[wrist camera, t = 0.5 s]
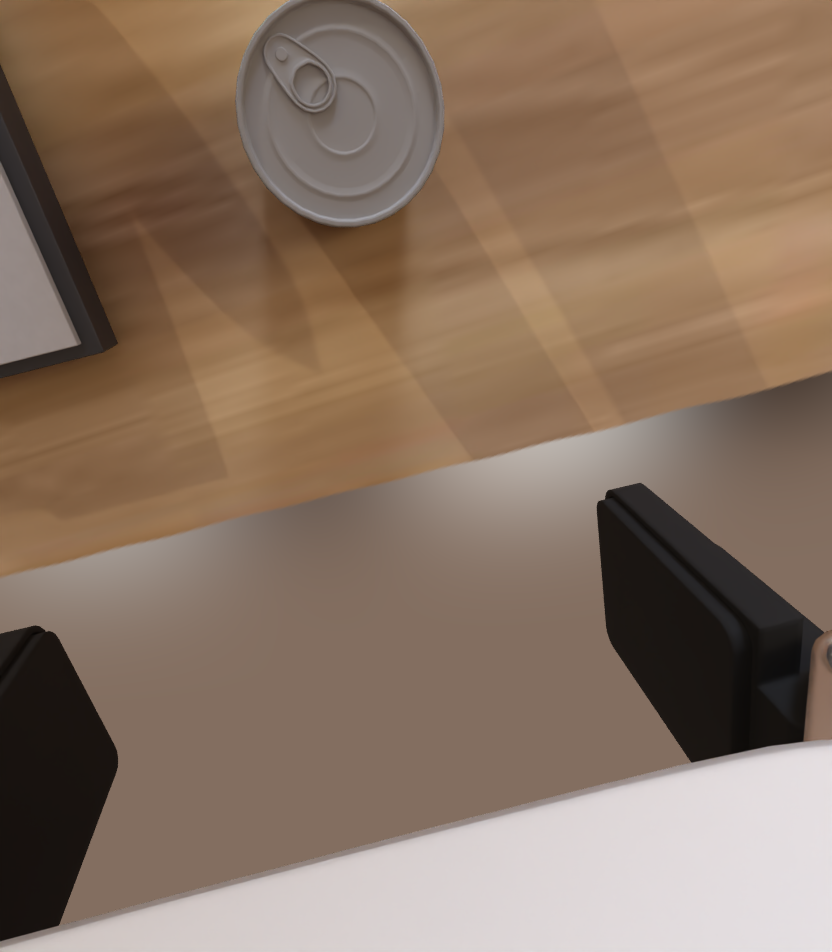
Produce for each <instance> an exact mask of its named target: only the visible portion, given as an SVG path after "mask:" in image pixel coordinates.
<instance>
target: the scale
mask: <svg viewBox="0 0 832 952" xmlns="http://www.w3.org/2000/svg"><path fill="white" fill-rule="evenodd" d="M117 344H118V343H117V340H116V338H115V336H114V333H113V331H112V329H111V326H110V324H109V321H108V319H107V317H106V314H105V312H104V310H103V307H102V305H101V303H100V300H99V298H98V295H97V293H96V291H95V288H94V286H93V284H92V281H91V279H90V276H89V274H88V272H87V269H86V267H85V265H84V262H83V260H82V257H81V255H80V253H79V250H78V248H77V246H76V243H75V241H74V238H73V236H72V234H71V231H70V229H69V227H68V224H67V222H66V219H65V217H64V215H63V212H62V210H61V208H60V205H59V203H58V201H57V198H56V196H55V193H54V191H53V189H52V186H51V184H50V182H49V179H48V177H47V174H46V172H45V170H44V167H43V165H42V163H41V160H40V158H39V155H38V153H37V151H36V148H35V146H34V144H33V141H32V139H31V136H30V134H29V132H28V129H27V127H26V125H25V122H24V120H23V118H22V115H21V113H20V110H19V108H18V106H17V103H16V101H15V99H14V96H13V94H12V91H11V89H10V87H9V84H8V82H7V80H6V77H5V75H4V72H3V70H2V68H1V65H0V378H3V377H7V376H11V375H15V374H19V373H23V372H27V371H31V370H35V369H39V368H43V367H47V366H51V365H55V364H59V363H63V362H67V361H71V360H75V359H78V358H82V357H86V356H90V355H94V354H98V353H102V352H105V351H106V350H108V349H110V348H112V347H113V346H115V345H117Z"/></svg>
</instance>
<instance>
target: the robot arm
mask: <svg viewBox="0 0 832 952" xmlns="http://www.w3.org/2000/svg"><path fill="white" fill-rule="evenodd" d="M597 517H598V531H599V543H600V556H601V568H602V581H603V594H604V606H605V618H606V628H607V633H608V636H609V639H610V641H611V644H612V645H613V647H614V649H615V650H616V652H617V653H618V655H619V656H620V658H621V659H622V661H623V662H624V663H625V665H626V666H627V668H628V669H629V671H630V673H631V674H632V675H633V677H634V678H635V680H636V681H637V683H638V684H639V686H640V687H641V689H642V690H643V692H644V693H645V695H646V696H647V698H648V699H649V700H650V702H651V704H652V705H653V706H654V708H655V709H656V711H657V712H658V714H659V715H660V717H661V718H662V720H663V721H664V723H665V724H666V726H667V727H668V729H669V730H670V732H671V733H672V735H673V736H674V738H675V739H676V741H677V742H678V744H679V745H680V746H681V748H682V749H683V751H684V752H685V754H686V755H687V757H688V758H689V760H690V761H691V763H688V764H684V765H679V766H675V767H671V768H667V769H663V770H659V771H655V772H651V773H647V774H643V775H639V776H635V777H631V778H627V779H623V780H618V781H614V782H610V783H606V784H602V785H597V786H593V787H589V788H585V789H581V790H578V791H574V792H570V793H566V794H562V795H558V796H554V797H550V798H547V799H542V800H538V801H534V802H530V803H526V804H523V805H519V806H515V807H511V808H507V809H503V810H499V811H495V812H491V813H487V814H483V815H480V816H476V817H472V818H468V819H464V820H460V821H456V822H452V823H448V824H444V825H440V826H436V827H432V828H428V829H425V830H421V831H417V832H413V833H409V834H405V835H401V836H397V837H394V838H390V839H386V840H382V841H378V842H374V843H370V844H367V845H363V846H359V847H355V848H351V849H347V850H344V851H340V852H336V853H332V854H328V855H324V856H320V857H317V858H313V859H309V860H305V861H301V862H298V863H294V864H290V865H286V866H282V867H278V868H275V869H271V870H267V871H264V872H259V873H256V874H252V875H248V876H244V877H240V878H236V879H233V880H229V881H225V882H222V883H217V884H214V885H210V886H206V887H203V888H198V889H194V890H191V891H187V892H183V893H179V894H176V895H172V896H168V897H165V898H161V899H157V900H153V901H149V902H146V903H142V904H138V905H135V906H131V907H127V908H123V909H120V910H116V911H112V912H108V913H105V914H101V915H97V916H93V917H90V918H86V919H82V920H79V921H75V922H71V923H68V924H63V925H60V926H59V924H60V921H61V918H62V916H63V913H64V910H65V908H66V905H67V902H68V899H69V897H70V895H71V892H72V889H73V886H74V884H75V881H76V879H77V876H78V873H79V871H80V868H81V865H82V862H83V860H84V857H85V854H86V852H87V849H88V846H89V844H90V841H91V838H92V836H93V833H94V830H95V828H96V825H97V822H98V819H99V817H100V814H101V812H102V809H103V806H104V804H105V801H106V798H107V795H108V793H109V790H110V788H111V785H112V782H113V780H114V777H115V774H116V771H117V768H118V755H117V750H116V748H115V746H114V743H113V742H112V740H111V738H110V736H109V734H108V732H107V730H106V728H105V726H104V725H103V722H102V720H101V719H100V717H99V715H98V713H97V711H96V709H95V707H94V705H93V703H92V702H91V700H90V698H89V696H88V694H87V692H86V690H85V688H84V686H83V684H82V682H81V680H80V679H79V677H78V675H77V673H76V671H75V669H74V667H73V665H72V663H71V661H70V660H69V658H68V656H67V654H66V652H65V650H64V648H63V646H62V644H61V642H60V640H59V639H58V637H57V636H56V634H54V633H53V632H50V631H48V632H45V630H44V629H42V628H41V627H40V626H31V627H27V628H23V629H19V630H14V631H10V632H6V633H2V634H0V952H832V630H830V631H827V632H825V633H824V632H823V631H822V630H821V629H819V628H818V627H817V626H816V625H815V624H813V623H812V622H811V621H810V620H808V619H807V618H806V617H805V616H804V615H802V614H801V613H800V612H799V611H797V610H796V609H795V608H794V607H793V606H792V605H790V604H789V603H788V602H786V601H785V600H784V599H783V598H782V597H781V596H779V595H778V594H777V593H776V592H774V591H773V590H772V589H771V588H770V587H769V586H767V585H766V584H765V583H764V582H763V581H761V580H760V579H759V578H758V577H756V576H755V575H754V574H753V573H751V572H750V571H749V570H748V569H747V568H746V567H744V566H743V565H742V564H741V563H740V562H738V561H737V560H736V559H735V558H733V557H732V556H731V555H730V554H729V553H727V552H726V551H725V550H724V549H723V548H721V547H720V546H718V545H716V544H714V543H713V542H712V541H711V540H710V539H708V538H707V537H706V536H705V535H704V534H702V533H701V532H700V531H699V530H698V529H696V528H695V527H694V526H693V525H692V524H690V523H689V522H688V521H687V520H686V519H684V518H683V517H682V516H681V515H679V514H678V513H677V512H676V511H675V510H674V509H672V508H671V507H670V506H669V505H668V504H666V503H665V502H664V501H663V500H661V499H660V498H659V497H658V496H657V495H655V494H654V493H653V492H652V491H651V490H650V489H648V488H647V487H646V486H644V485H643V484H641V483H637V484H633V485H629V486H625V487H620V488H616V489H612V490H608V491H607V493H606V496H605V500H601V501H599V502H598V503H597Z"/></svg>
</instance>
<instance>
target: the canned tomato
mask: <svg viewBox="0 0 832 952" xmlns="http://www.w3.org/2000/svg"><path fill="white" fill-rule="evenodd" d="M235 102H236V113H237V124H238V128H239V132H240V136H241V139H242V143H243V147H244V149H245V152H246V154H247V156H248V158H249V160H250V162H251V165H252V167H253V169H254V170H255V172H256V173H257V175H258V176H259V178H260V179H261V180H262V182H263V183H264V185H265V186H266V188H267V189H268V190H269V191H270V192H271V193H272V194H273V195H274V196H275V197H276V198H277V199H278V200H279V201H280V202H281V203H283V204H284V205H286V206H287V207H288V208H290V209H291V210H293V211H294V212H296V213H297V214H299V215H301V216H303V217H305V218H307V219H310V220H312V221H314V222H317V223H319V224H322V225H327V226H332V227H359V226H364V225H369V224H373V223H376V222H379V221H381V220H383V219H385V218H388V217H390V216H392V215H393V214H395V213H396V212H398V211H399V210H400V209H402V208H403V207H404V206H406V205H407V204H408V203H409V202H410V201H411V200H412V199H413V198H414V197H415V196H416V195H417V193H418V192H419V191H420V190H421V189H422V187H423V186H424V184H425V182H426V181H427V179H428V178H429V176H430V174H431V173H432V171H433V168H434V165H435V163H436V160H437V157H438V155H439V152H440V148H441V142H442V137H443V132H444V101H443V94H442V88H441V83H440V80H439V77H438V74H437V71H436V68H435V64H434V61H433V60H432V58H431V56H430V54H429V52H428V50H427V48H426V47H425V45H424V43H423V41H422V40H421V38H420V37H419V36H418V35H417V33H416V32H415V31H414V30H413V28H412V27H411V26H410V25H409V23H408V22H407V21H406V20H404V19H403V18H402V17H401V16H400V15H399V14H397V13H396V12H395V11H394V10H393V9H392V8H390V7H389V6H387V5H385V4H383V3H381V2H380V1H378V0H289V1H287V2H285V3H284V4H283V5H282V6H280V7H279V8H278V9H277V10H275V11H274V12H273V13H271V14H270V15H269V16H268V17H267V18H266V20H265V21H264V22H263V23H262V25H261V26H260V27H259V28H258V29H257V31H256V32H255V33H254V35H253V37H252V39H251V41H250V43H249V45H248V47H247V49H246V51H245V53H244V55H243V59H242V62H241V66H240V70H239V73H238V77H237V88H236V100H235Z"/></svg>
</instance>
